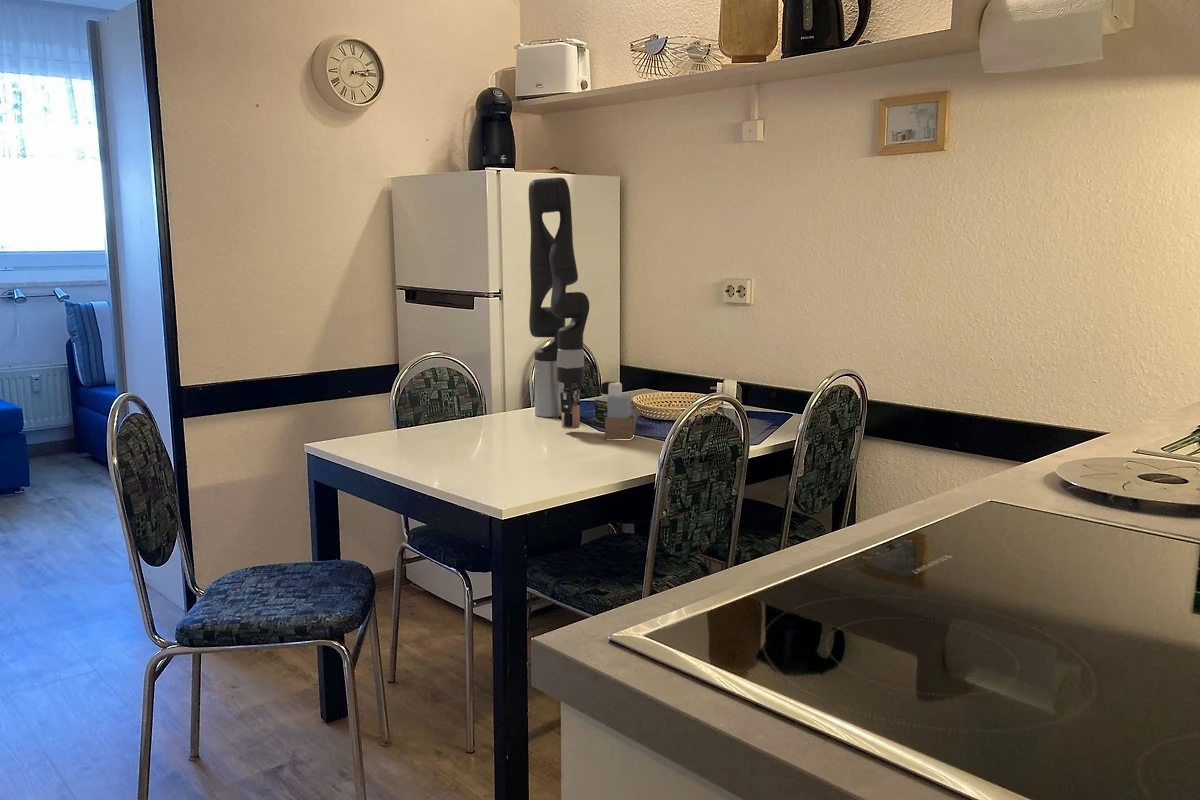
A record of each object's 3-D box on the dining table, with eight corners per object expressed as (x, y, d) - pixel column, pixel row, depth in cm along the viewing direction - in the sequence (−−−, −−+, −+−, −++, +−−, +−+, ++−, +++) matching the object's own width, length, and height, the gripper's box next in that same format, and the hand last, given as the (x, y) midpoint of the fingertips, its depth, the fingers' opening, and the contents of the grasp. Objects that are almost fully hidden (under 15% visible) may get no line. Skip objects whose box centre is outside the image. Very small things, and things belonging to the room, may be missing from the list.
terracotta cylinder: (564, 424, 268) (564, 403, 267) (581, 425, 267) (581, 404, 266) (559, 428, 263) (559, 407, 262) (577, 429, 262) (577, 407, 261)
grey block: (611, 414, 261) (611, 394, 260) (631, 415, 260) (631, 395, 259) (607, 418, 256) (607, 397, 255) (627, 418, 254) (627, 398, 254)
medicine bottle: (594, 421, 282) (594, 382, 280) (612, 418, 286) (612, 379, 284) (610, 425, 276) (611, 384, 274) (628, 422, 281) (628, 382, 279)
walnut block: (610, 435, 263) (610, 413, 262) (635, 436, 261) (635, 414, 260) (604, 440, 256) (605, 418, 255) (630, 441, 255) (630, 419, 254)
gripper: (563, 360, 270) (564, 419, 273) (550, 368, 256) (551, 429, 259) (589, 361, 268) (589, 420, 271) (577, 368, 254) (577, 430, 257)
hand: (570, 424), depth 265 cm, fingers closed on terracotta cylinder, 5 cm apart
